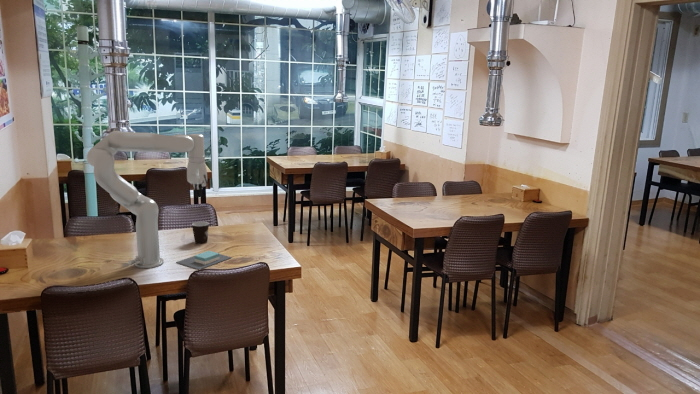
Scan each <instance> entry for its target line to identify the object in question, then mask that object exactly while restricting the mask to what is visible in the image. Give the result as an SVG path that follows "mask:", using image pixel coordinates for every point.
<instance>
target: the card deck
mask: <svg viewBox="0 0 700 394" xmlns="http://www.w3.org/2000/svg"><path fill="white" fill-rule="evenodd" d="M219 254H220V253H219V252H217V251H211V250H206V251H204V252H202V253H198V254H195V255H194V256H195V262H198V263H201V264H205V265H206V264H208V263H211V262H214V261H216V260H219Z"/></svg>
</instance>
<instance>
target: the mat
mask: <svg viewBox="0 0 700 394" xmlns="http://www.w3.org/2000/svg"><path fill="white" fill-rule="evenodd" d="M230 259H232V257H231V256H228V255H225V254H221V253H219V260H216V261H214V262H211V263H208V264H206V265H205V264H201V263H198V262H195V255H193V256H190V257H187V258H184V259H181V260H179V261H176V262H175V263H176V264H179V265H182V266H185V267H188V268H192V269H194V270H197V271H200V270H199V269H201V270H204V269H206V268H209V267H211V266H214V265H217V264H220V263H222V262H225V261H227V260H230Z"/></svg>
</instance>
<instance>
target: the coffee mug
mask: <svg viewBox="0 0 700 394" xmlns="http://www.w3.org/2000/svg"><path fill="white" fill-rule="evenodd" d="M209 224H210V223H209V222H207V221H197V222H193V223H191V228H192V233H193V238H194V243H195V244H197V245H204V244H207V243H208V242H209V241H208V238H209V237H208V236H209V227H210V225H209Z"/></svg>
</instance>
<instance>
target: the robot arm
mask: <svg viewBox="0 0 700 394" xmlns="http://www.w3.org/2000/svg"><path fill="white" fill-rule="evenodd" d="M118 152H126V153H127V152H130V153H132V152H134V153H135V152H137V153H139V152H141V153H143V152H145V153H146V152H152V153H187V156H188V162H187V164H186V165H187V166H186V180H187V182H188V183H189V184H190V185H191V186H193V190H194V197H195V198H196V199H197V198H202V197H203V188H204V187H206V186H207V183H208V171H207V165H206V159H205V158H206V156H205V137H204V135H203V134H202V133H190V134H178V133H177V134H174V135H168V134H167V135H166V134H159V133H157V132H155V133H154V132H139V131H138V132H137V131H136V132H134V131H131V132H130V131H121V130H113V131H111V132H109V133H108V134H107V135H106V136H104V137H103V138H102V139H101V140H100V141H99V142H97V143H95V145H93V146H92V147H91V148H90V149H89V151H88V152H87V153H86V161H87V163H88V164H89V165H90V166H92V167H93V176H94V179H95V181H96V183H97V184H98V186H100V187H101V188H102V189H103V190H105V192H107V193H109V195H110V197H111V198H112V199H113V200H114V201H115V202H116V203H118V204H119V205H120V206H122V207H123V208H125V209H126V210H128V211H129V212H131V213H132V214H133V215H135V216H136V220H135V221H136V222H135V233H136V234H135V235H136V237H135V238H136V249H137V255H136V256H135V258H134V259H131V260H128V265H130V266H131V265H134V266H135V267H136V268H140V269H151V268H156V267H159V266H161V265H163V264H164V258H162V257H161V255H160V252H161V251H160V239H159V237H160V236H159V221H158V220H159V206H158V204H157V202H156V201H155V200H154V199H152V198H150V197H148V196H145V195H143V194H142V193H140V192H139V191H138V189H137V187H136V186H134V185H133V184H132V183H130V182H128V181H127V180H126V179H125V178H123V177H122V176H121V175H119V174H118V173H117V172H116V170H115V161H116V160H115V155H116V154H117V153H118Z"/></svg>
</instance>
